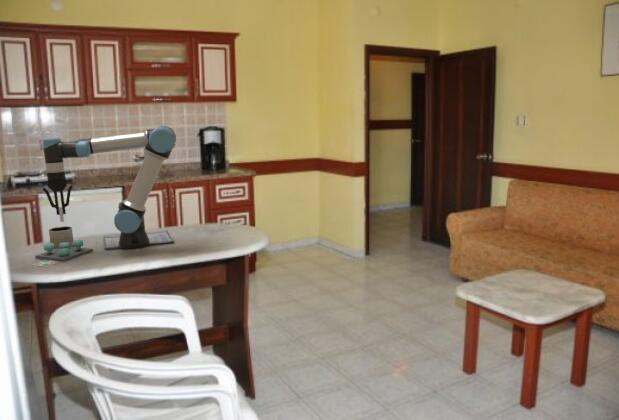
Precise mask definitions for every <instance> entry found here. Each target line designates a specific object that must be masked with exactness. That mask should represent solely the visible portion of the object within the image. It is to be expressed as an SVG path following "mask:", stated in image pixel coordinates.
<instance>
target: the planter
mask: <svg viewBox="0 0 619 420" xmlns="http://www.w3.org/2000/svg"><path fill="white" fill-rule="evenodd" d="M48 234H49V235H48V236H49V243H54V247H55V249H57V248H59V243H63V242H69V245H70V247H73V241H74V234H73V228H72V226H57V227H52V228H49V229H48Z"/></svg>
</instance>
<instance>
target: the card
mask: <svg viewBox="0 0 619 420" xmlns="http://www.w3.org/2000/svg"><path fill="white" fill-rule="evenodd" d="M56 264H60V262H59V261H51V260H42V261H39V262H36V263H33V264H31V267H37V268H38V267H39V268H47V267H50V266H52V265H56Z"/></svg>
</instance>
